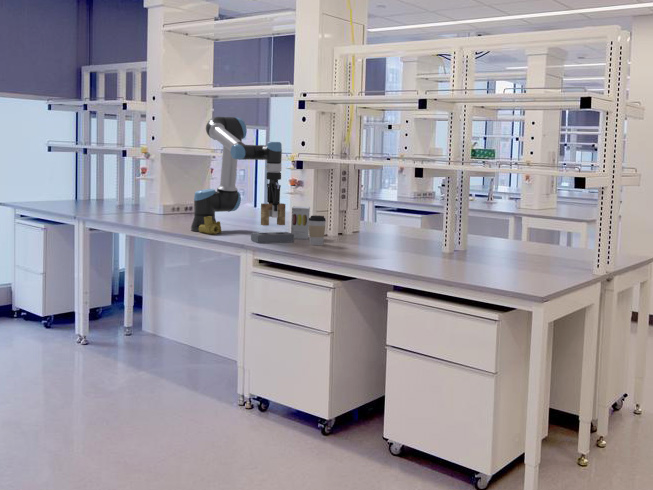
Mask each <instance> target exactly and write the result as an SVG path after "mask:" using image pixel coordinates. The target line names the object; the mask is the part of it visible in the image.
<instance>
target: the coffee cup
mask: <svg viewBox="0 0 653 490" xmlns="http://www.w3.org/2000/svg"><path fill="white" fill-rule="evenodd" d="M326 221H327V220H326V218H325V215H310V216H309V245H310V246H323V245H324V238H325V232H326Z"/></svg>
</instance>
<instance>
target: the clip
mask: <svg viewBox="0 0 653 490" xmlns="http://www.w3.org/2000/svg"><path fill="white" fill-rule="evenodd" d="M272 204H273V203H272ZM272 204H269V203H260V226H265V227H266V226H269V225H270V217H269V210H272ZM276 225H277V226H286V203H281V202H280V204H278V217H277V218H276Z"/></svg>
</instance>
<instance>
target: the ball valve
mask: <svg viewBox="0 0 653 490" xmlns="http://www.w3.org/2000/svg"><path fill="white" fill-rule="evenodd" d="M216 222H217V223H216ZM216 222H215V221H212V216H208V217H204V223H205V225H200V226H199V231H200V232H199V233H203V234H204V233H205V234H206V235H207V234H208V235H216V234H222V226H221V221H217V220H216Z"/></svg>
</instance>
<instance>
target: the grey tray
mask: <svg viewBox="0 0 653 490" xmlns="http://www.w3.org/2000/svg"><path fill="white" fill-rule="evenodd" d="M251 240H252V241H251ZM250 241H251V242H254V243H257V244H267V243H268V244H269V243H270V244H273V243H274V244H275V243H294V241H295V238H294V234H291V232H288V231H280V232H279V231H277V232H273V231H272V232H267V231H266V232H251V233H250Z"/></svg>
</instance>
